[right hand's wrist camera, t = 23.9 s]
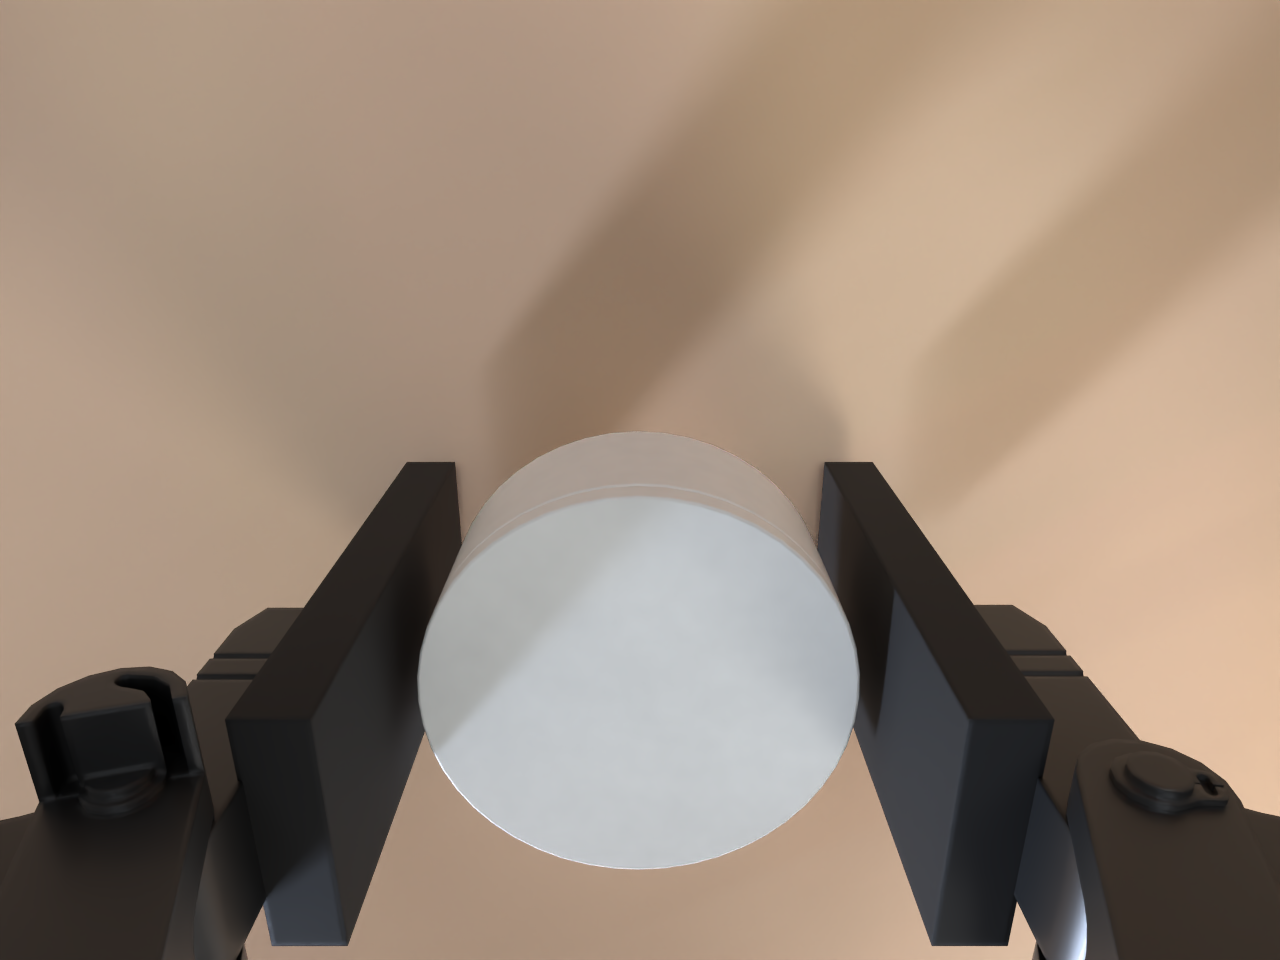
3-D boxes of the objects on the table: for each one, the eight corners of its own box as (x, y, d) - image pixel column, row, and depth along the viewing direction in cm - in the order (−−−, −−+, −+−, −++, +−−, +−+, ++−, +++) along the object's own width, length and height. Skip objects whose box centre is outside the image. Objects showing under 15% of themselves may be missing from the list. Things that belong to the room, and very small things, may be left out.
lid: (437, 431, 12) (393, 497, 9) (836, 428, 12) (881, 494, 9) (468, 756, 13) (437, 873, 11) (810, 753, 13) (842, 869, 11)
